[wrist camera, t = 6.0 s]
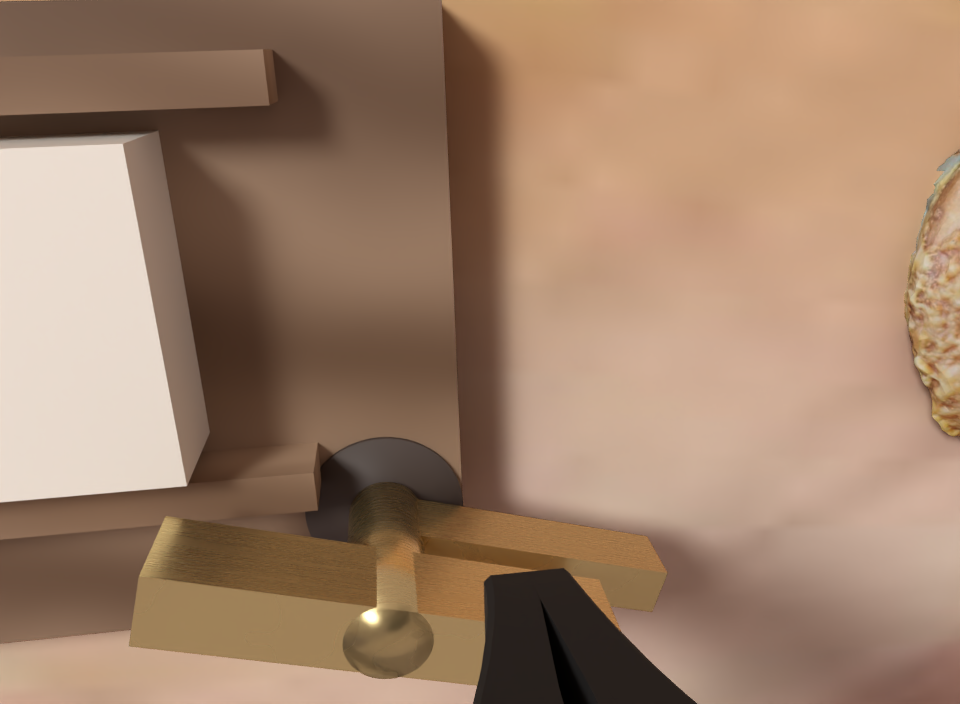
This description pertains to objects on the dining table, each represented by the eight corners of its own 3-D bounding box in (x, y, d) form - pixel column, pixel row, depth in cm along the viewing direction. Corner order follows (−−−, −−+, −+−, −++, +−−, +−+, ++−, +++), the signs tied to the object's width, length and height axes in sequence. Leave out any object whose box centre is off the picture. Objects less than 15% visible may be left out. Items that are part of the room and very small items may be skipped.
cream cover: (209, 432, 19) (186, 486, 16) (-57, 453, 18) (-120, 512, 16) (158, 130, 16) (122, 143, 14) (-154, 142, 16) (-246, 158, 13)
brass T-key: (183, 514, 19) (128, 650, 15) (194, 449, 19) (139, 571, 14) (628, 580, 22) (692, 713, 17) (649, 524, 21) (721, 648, 17)
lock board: (459, 550, 23) (472, 632, 20) (-199, 616, 21) (-302, 718, 18) (434, -3, 18) (447, -14, 15) (-452, 18, 16) (-663, 9, 13)
